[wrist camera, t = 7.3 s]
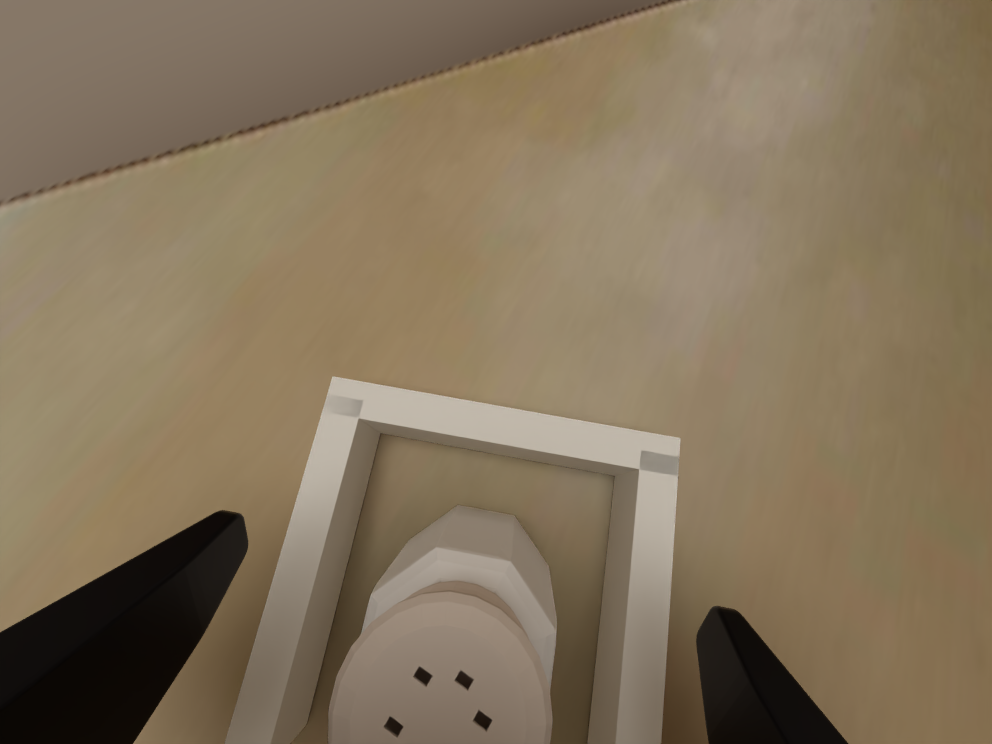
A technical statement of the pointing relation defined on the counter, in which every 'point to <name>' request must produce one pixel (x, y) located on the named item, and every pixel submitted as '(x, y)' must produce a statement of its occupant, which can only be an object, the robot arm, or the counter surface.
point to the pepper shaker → (453, 641)
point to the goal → (492, 429)
